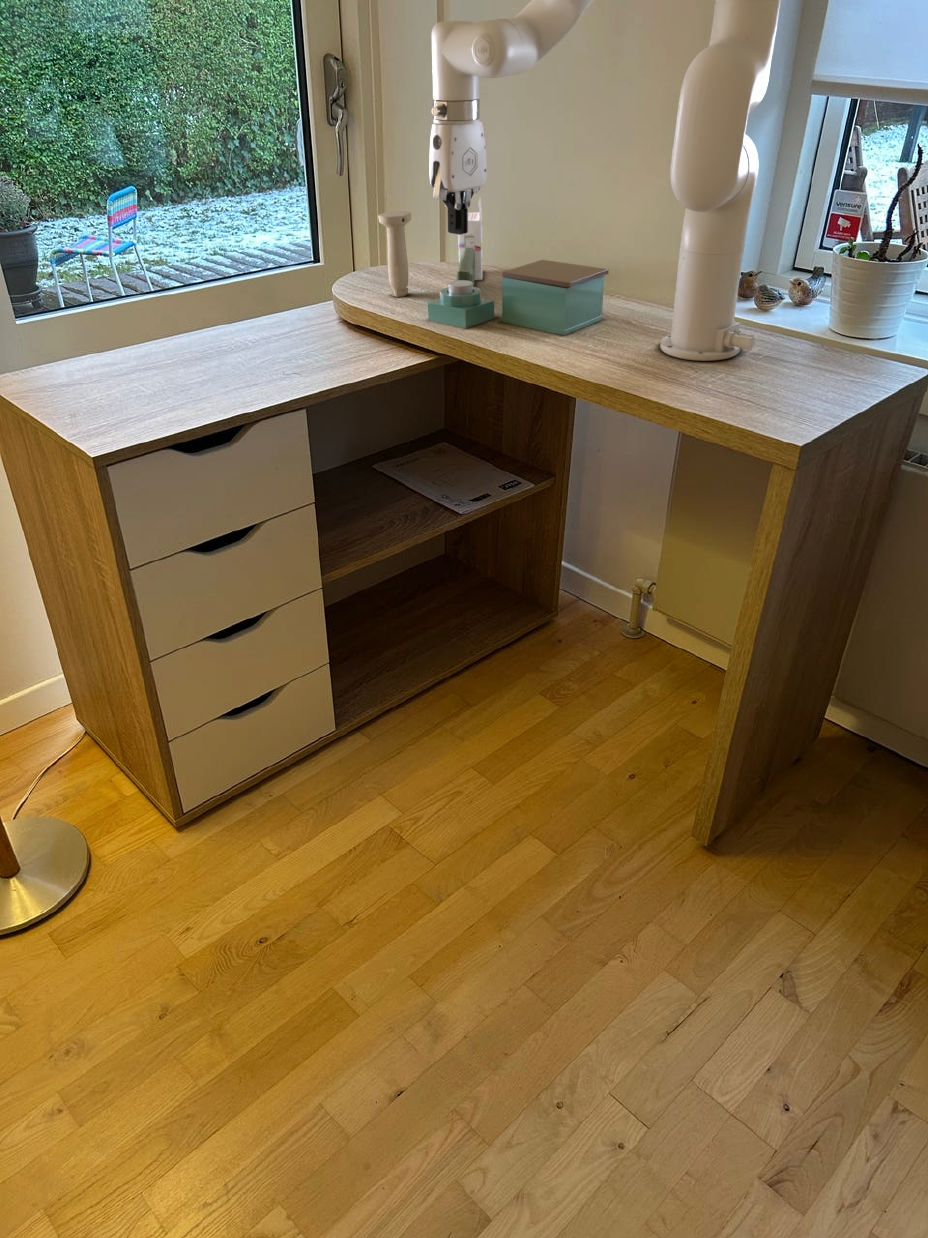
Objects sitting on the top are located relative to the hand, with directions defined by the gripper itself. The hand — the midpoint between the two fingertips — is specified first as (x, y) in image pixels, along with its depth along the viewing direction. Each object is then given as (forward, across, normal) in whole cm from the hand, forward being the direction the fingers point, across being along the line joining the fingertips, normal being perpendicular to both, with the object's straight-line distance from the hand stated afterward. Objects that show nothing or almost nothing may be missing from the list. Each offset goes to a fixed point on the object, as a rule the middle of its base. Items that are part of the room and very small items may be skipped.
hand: (457, 232), depth 158 cm
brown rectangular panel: (+7, +9, -15) cm, 18 cm away
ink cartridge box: (+15, +26, +19) cm, 35 cm away
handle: (+15, +6, +20) cm, 26 cm away
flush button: (+10, 0, 0) cm, 10 cm away
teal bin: (+14, +9, -14) cm, 22 cm away
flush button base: (+15, 0, 0) cm, 15 cm away
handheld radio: (+15, +16, +12) cm, 25 cm away
